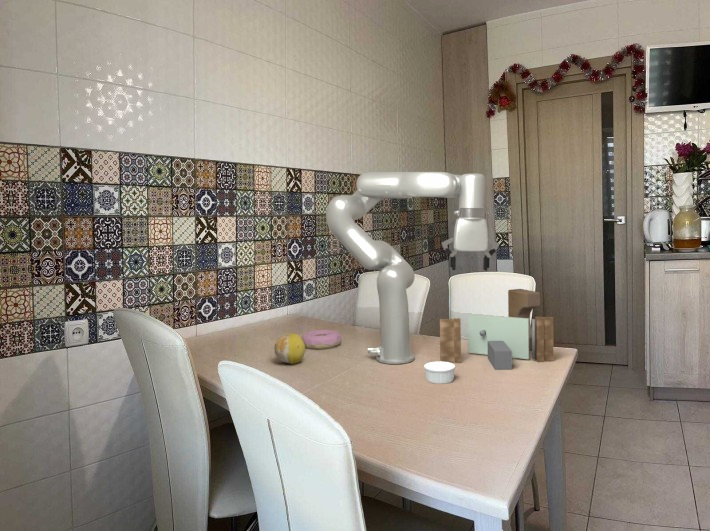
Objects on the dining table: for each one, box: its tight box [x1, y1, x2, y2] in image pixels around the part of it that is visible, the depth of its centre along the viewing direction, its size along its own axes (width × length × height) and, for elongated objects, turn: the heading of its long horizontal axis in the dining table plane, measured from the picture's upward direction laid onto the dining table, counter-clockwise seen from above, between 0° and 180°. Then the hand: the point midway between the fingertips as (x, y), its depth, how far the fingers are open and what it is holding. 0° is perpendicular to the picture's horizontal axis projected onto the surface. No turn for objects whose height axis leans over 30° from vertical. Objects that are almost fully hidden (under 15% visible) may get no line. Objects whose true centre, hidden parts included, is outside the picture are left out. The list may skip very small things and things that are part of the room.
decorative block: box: [507, 288, 541, 352], centre depth 182 cm, size 11×6×20 cm, turn 17°
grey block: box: [487, 341, 513, 371], centre depth 164 cm, size 5×13×6 cm, turn 175°
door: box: [467, 313, 536, 361], centre depth 170 cm, size 22×3×13 cm, turn 58°
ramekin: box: [423, 360, 456, 385], centre depth 150 cm, size 9×9×4 cm
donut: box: [300, 329, 342, 350], centre depth 196 cm, size 16×15×5 cm
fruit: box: [274, 333, 306, 365], centre depth 173 cm, size 10×11×10 cm
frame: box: [439, 316, 554, 364], centre depth 166 cm, size 35×2×14 cm, turn 85°
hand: (469, 269), depth 161 cm, fingers open, 9 cm apart
